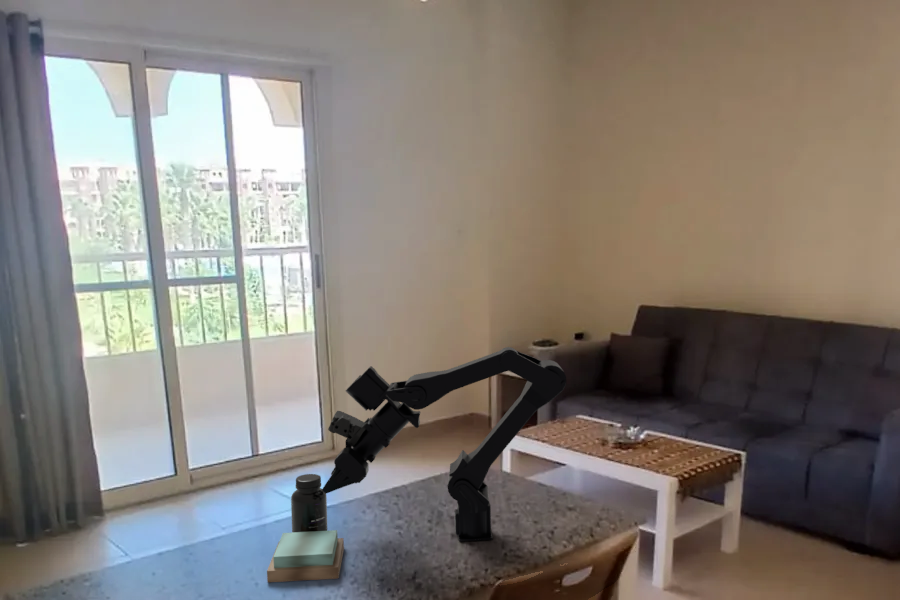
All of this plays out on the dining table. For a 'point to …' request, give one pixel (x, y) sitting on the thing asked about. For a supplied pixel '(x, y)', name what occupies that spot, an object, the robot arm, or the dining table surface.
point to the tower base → (307, 570)
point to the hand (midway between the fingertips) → (328, 483)
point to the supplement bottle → (309, 505)
